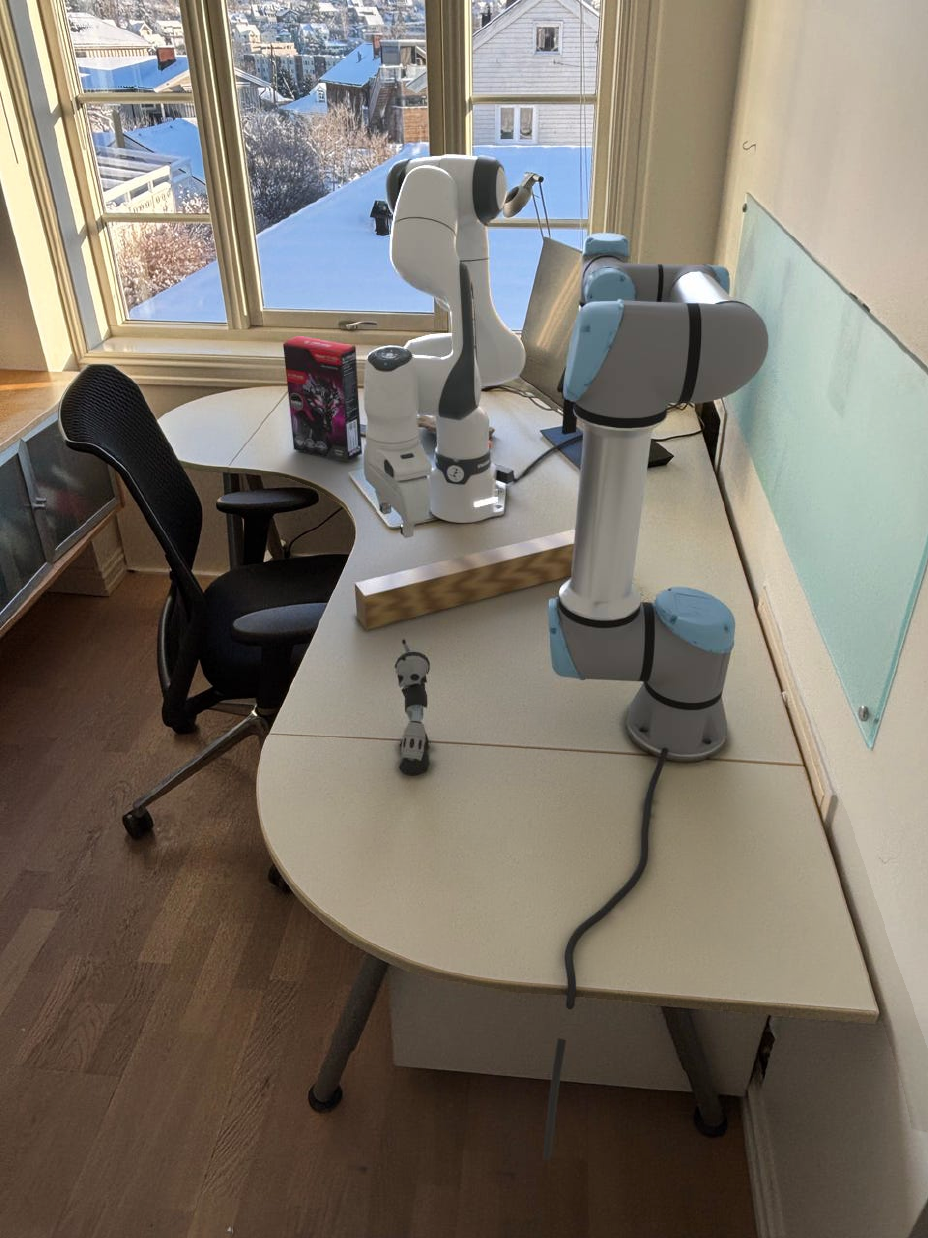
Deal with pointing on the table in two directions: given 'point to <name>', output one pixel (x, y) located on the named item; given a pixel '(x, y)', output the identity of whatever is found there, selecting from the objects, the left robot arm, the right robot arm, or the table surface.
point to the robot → (413, 710)
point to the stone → (430, 424)
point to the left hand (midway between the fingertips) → (396, 523)
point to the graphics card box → (323, 397)
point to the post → (463, 579)
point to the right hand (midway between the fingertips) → (588, 446)
